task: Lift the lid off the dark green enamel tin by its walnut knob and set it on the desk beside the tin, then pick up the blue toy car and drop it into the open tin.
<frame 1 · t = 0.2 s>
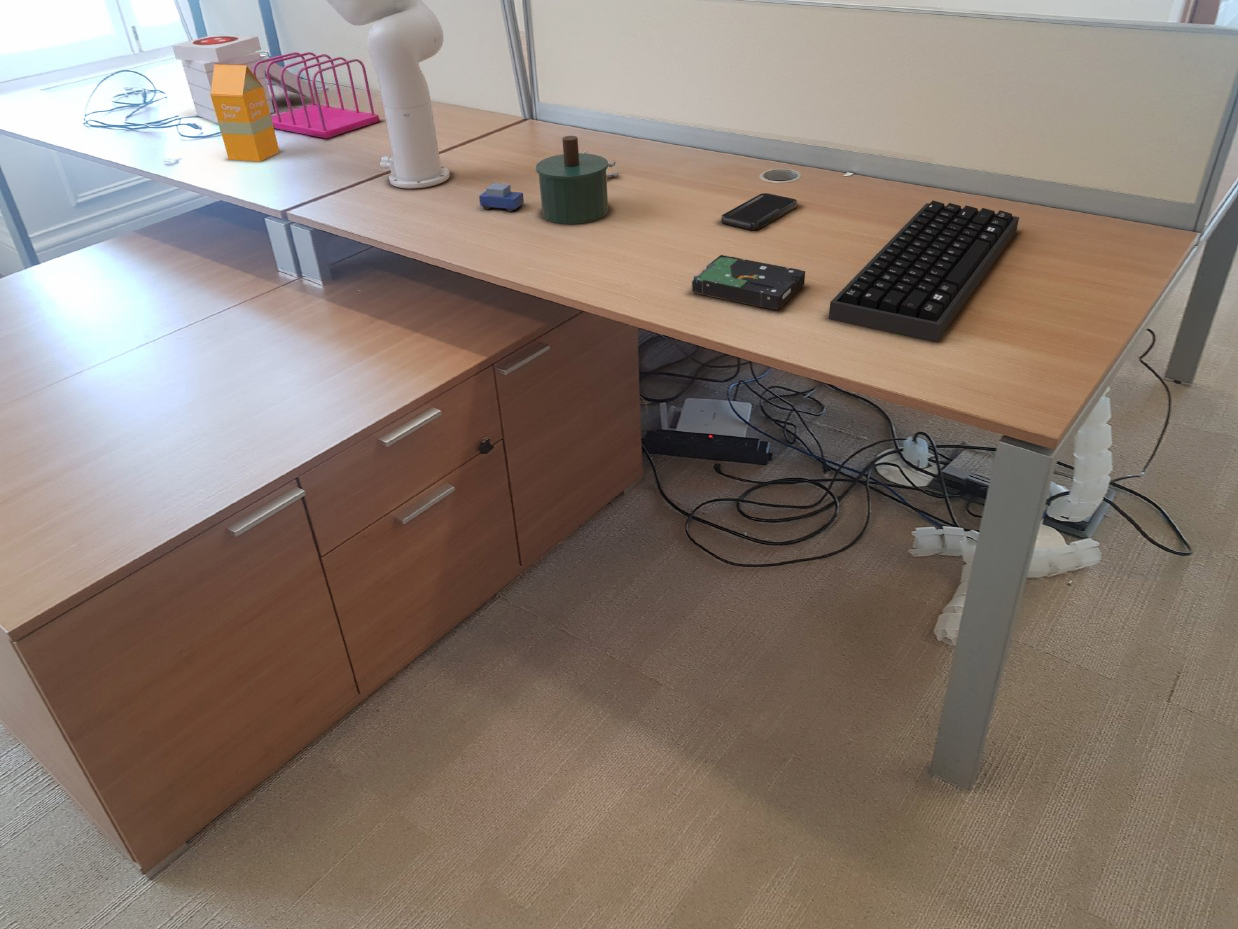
pizza boxes: (254, 110, 253), on the table
disk drive: (748, 291, 147), on the table
file sorter: (321, 125, 237), on the table
orange juice: (254, 156, 218), on the table
lid: (572, 167, 173), point 8 cm above the table, touching tin
phone: (759, 214, 173), on the table
tin: (575, 212, 178), on the table
toy car: (502, 207, 182), on the table
soldier figure: (589, 182, 192), on the table
computer keyboard: (929, 273, 149), on the table
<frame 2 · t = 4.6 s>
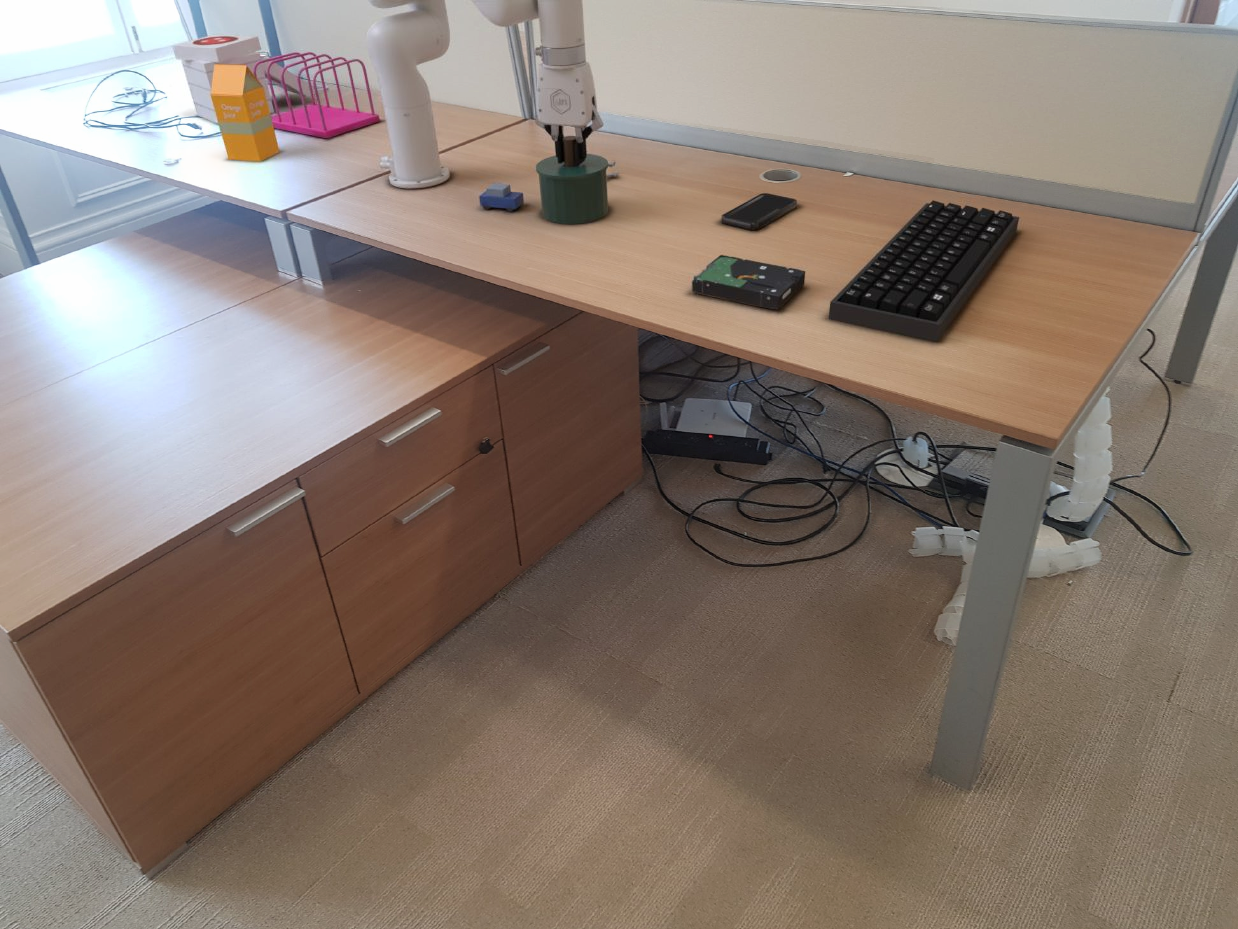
hand: (571, 161, 172), 10 cm above the table, tool pointing down, fingers closed on lid, 2 cm apart
lid: (572, 167, 173), point 9 cm above the table, touching gripper, tin
everything else where it was.
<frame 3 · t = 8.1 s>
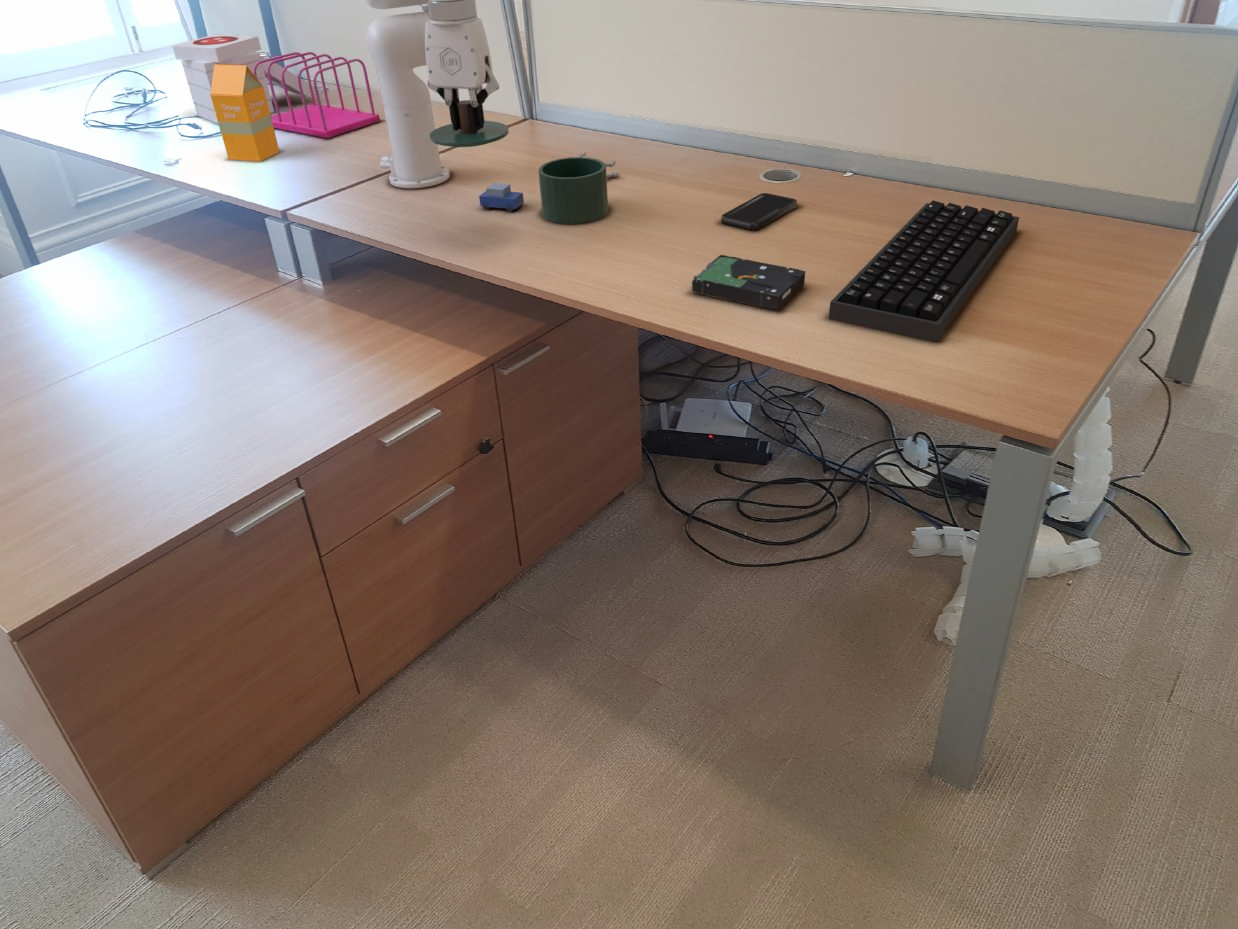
hand: (468, 127, 159), 19 cm above the table, tool pointing down, fingers closed on lid, 2 cm apart
lid: (469, 135, 160), point 18 cm above the table, touching gripper
everything else where it was.
when the fingers open (2 cm above the table, at t = 12.0 s): lid stays where it is, point 1 cm above the table.
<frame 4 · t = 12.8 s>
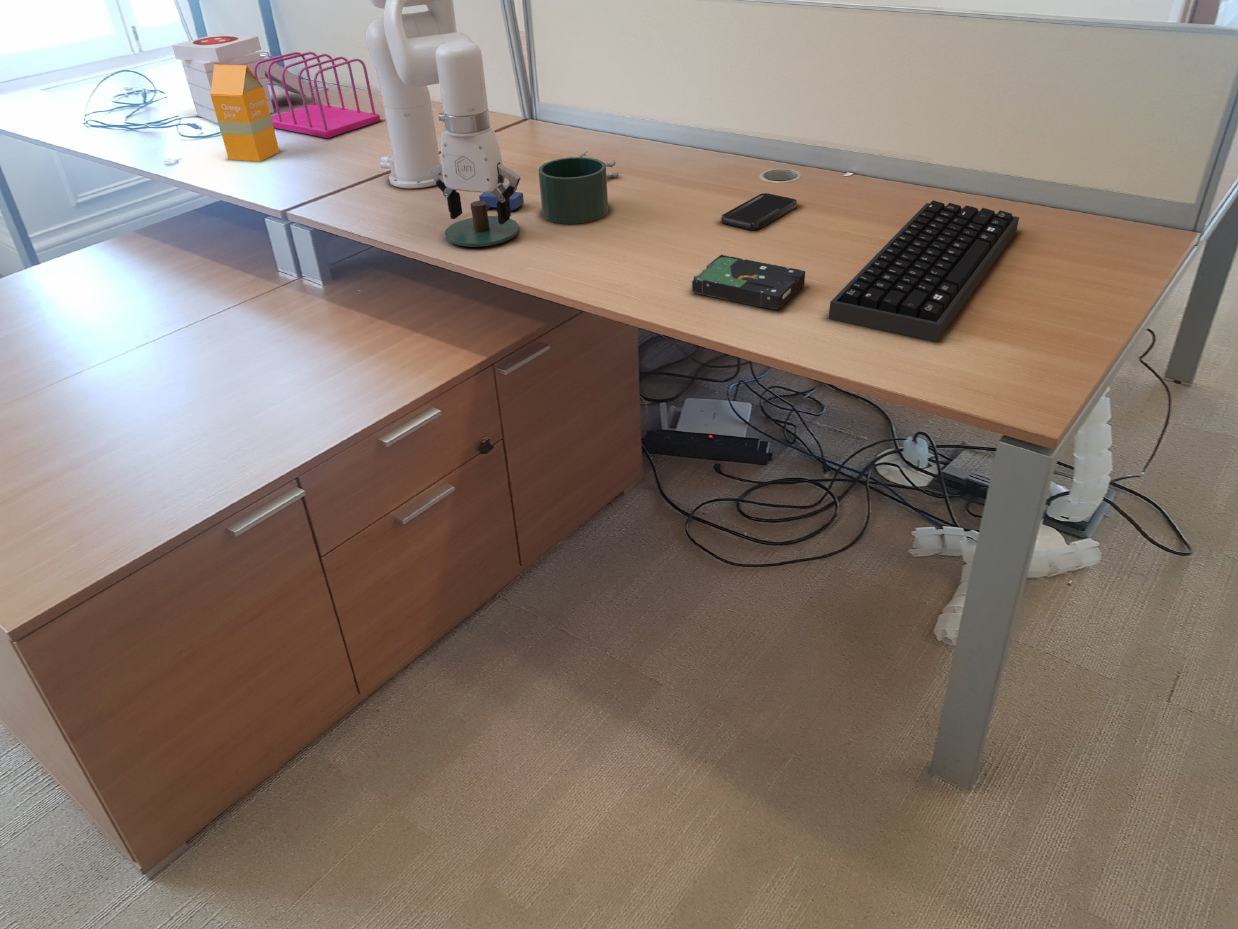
hand: (480, 219, 169), 3 cm above the table, tool pointing down, fingers open, 9 cm apart
lid: (482, 232, 170), point 1 cm above the table
everything else where it was.
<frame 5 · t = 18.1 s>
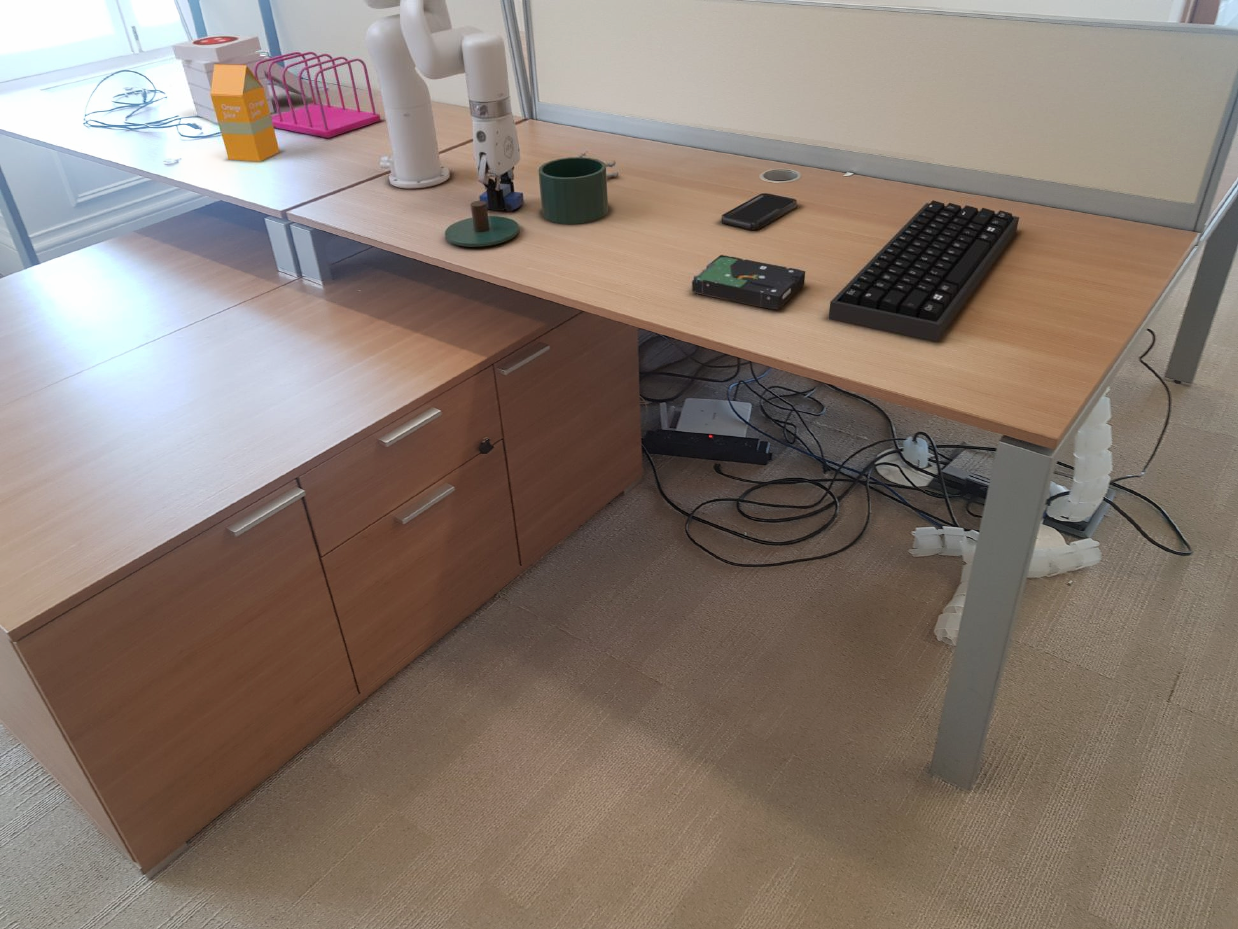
hand: (502, 204, 182), 1 cm above the table, tool pointing down, fingers closed on toy car, 3 cm apart
toy car: (502, 207, 182), on the table, touching gripper
everything else where it was.
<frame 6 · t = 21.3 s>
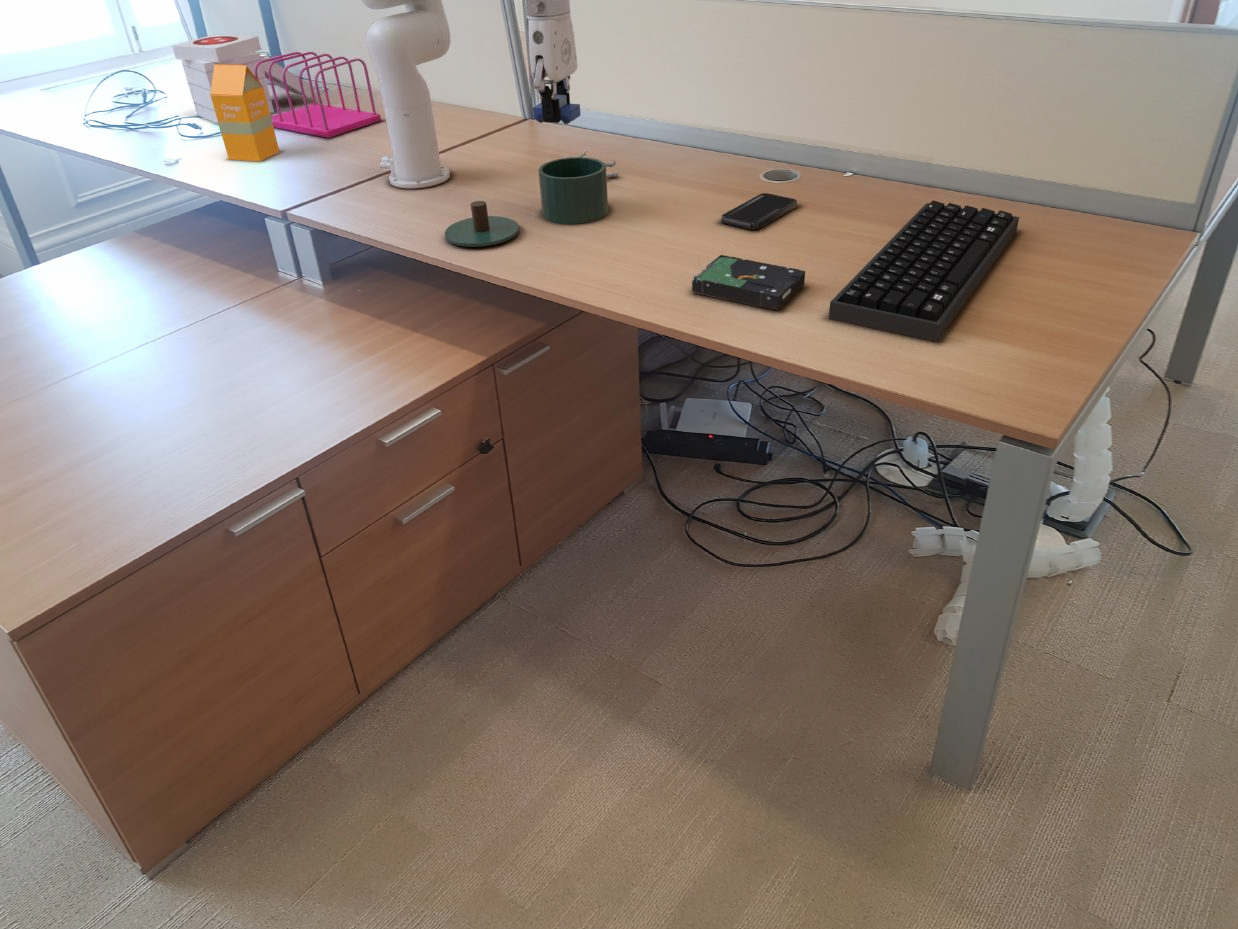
hand: (557, 117, 168), 17 cm above the table, tool pointing down, fingers closed on toy car, 3 cm apart
toy car: (557, 120, 169), point 17 cm above the table, touching gripper
everything else where it was.
when the fingers open (7 cm above the table, at t = 24.4 s): toy car drops 6 cm, resting on tin.
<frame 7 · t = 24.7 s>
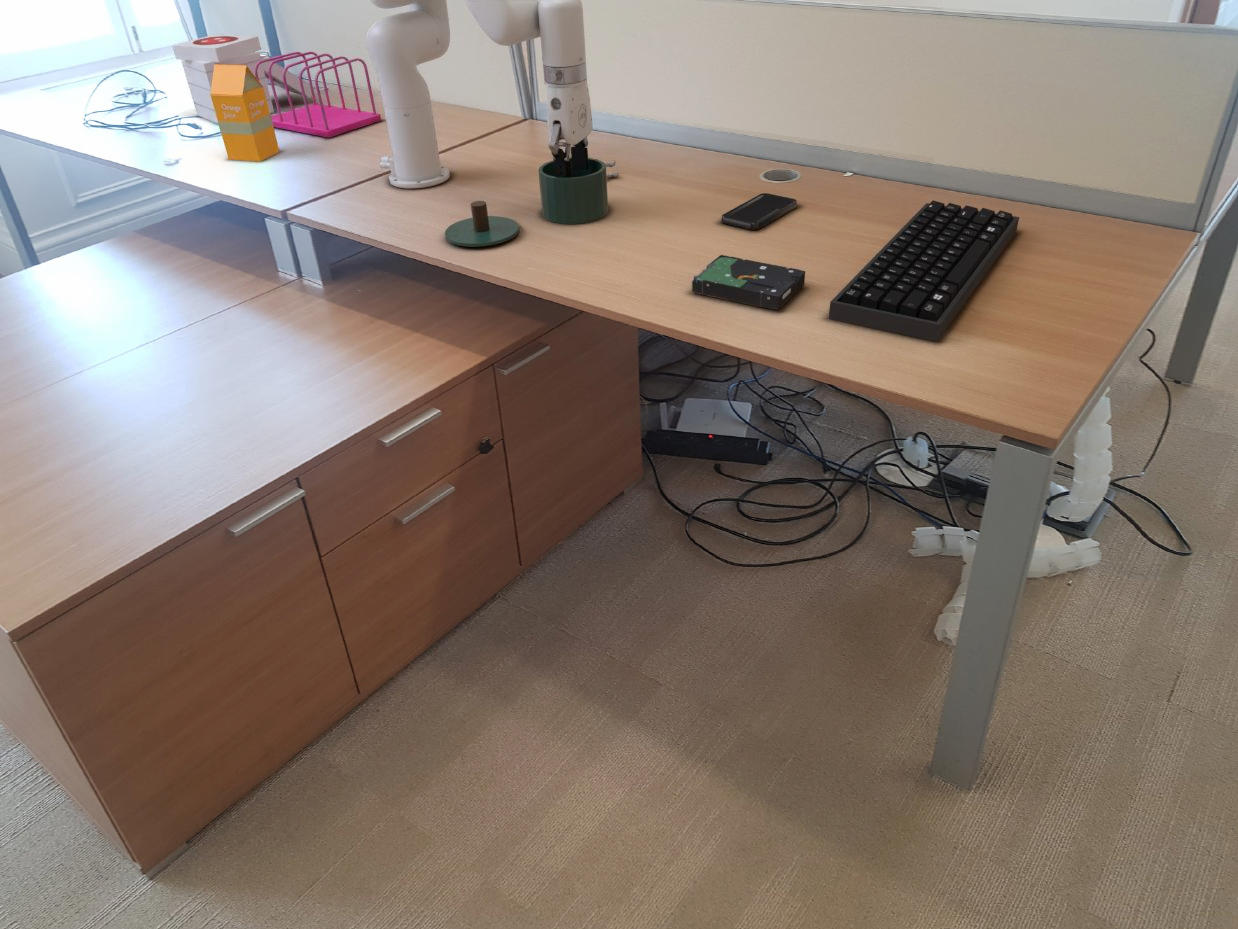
hand: (572, 174, 174), 7 cm above the table, tool pointing down, fingers open, 6 cm apart
toy car: (575, 209, 178), resting on tin
everything else where it was.
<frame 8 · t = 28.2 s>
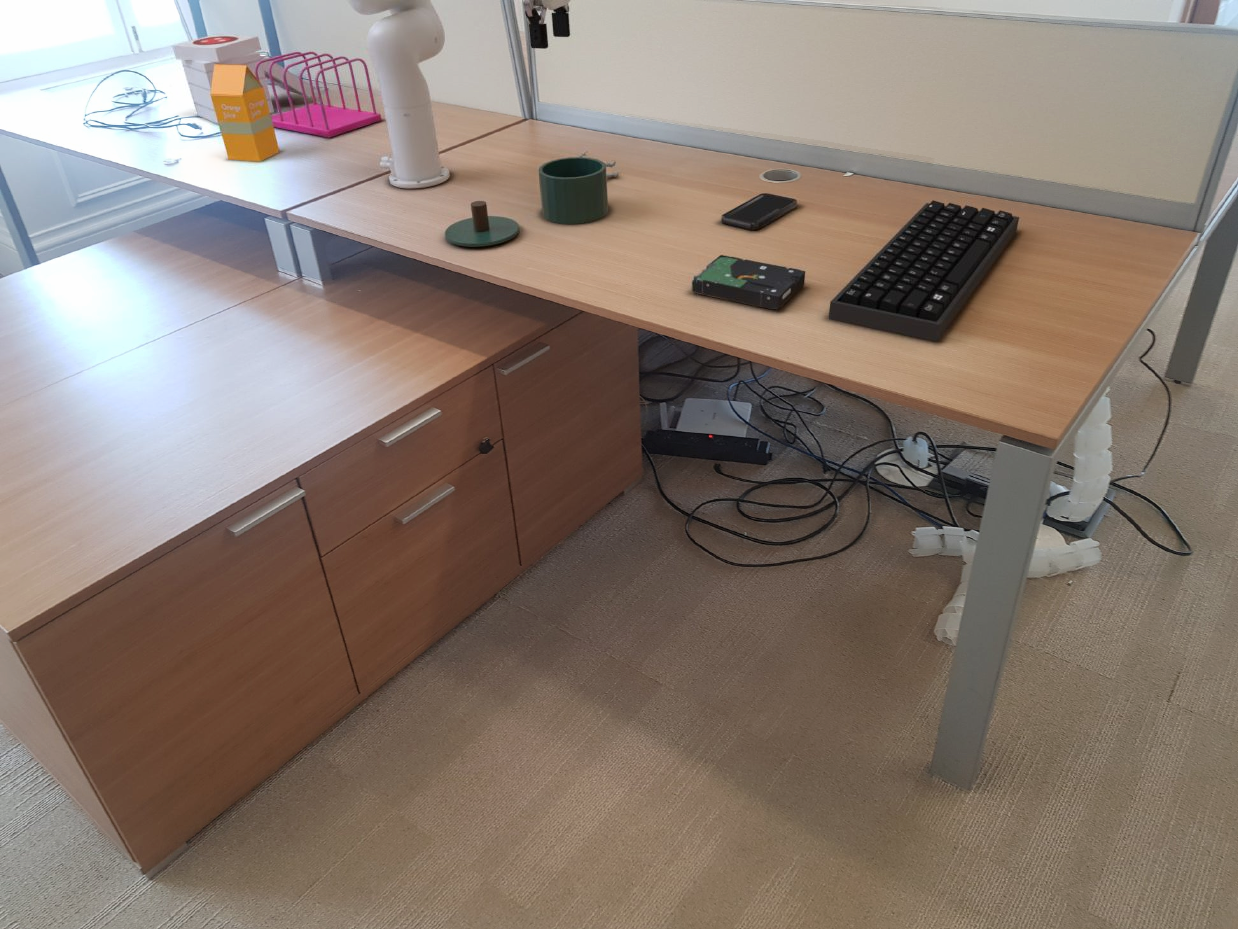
hand: (551, 42, 170), 28 cm above the table, tool pointing down, fingers open, 9 cm apart
nothing on the table moved.
at the end: lid inside the target area (0.1 cm from its centre), point 0.6 cm above the table; toy car inside the target area in the tin (0.0 cm from its centre), point 0.5 cm above the tin's base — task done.
